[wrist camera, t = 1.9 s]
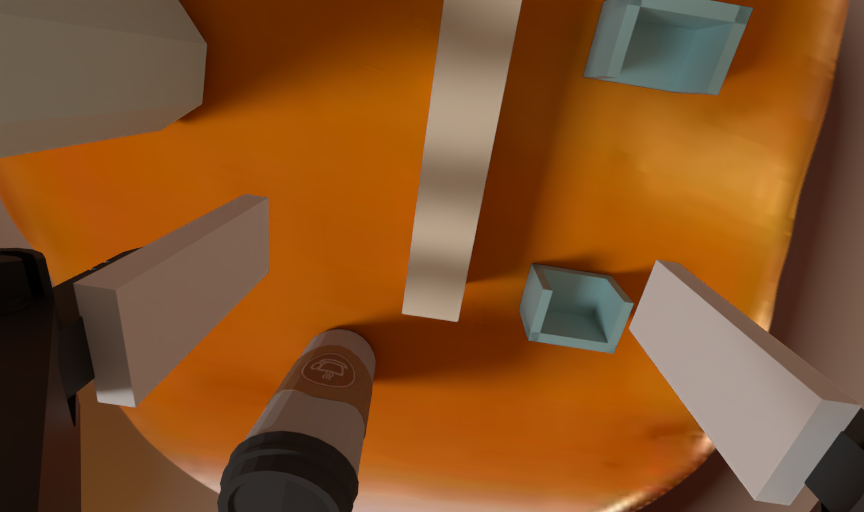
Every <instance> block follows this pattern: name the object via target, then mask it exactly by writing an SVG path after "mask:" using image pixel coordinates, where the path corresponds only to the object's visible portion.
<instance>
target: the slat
mask: <svg viewBox="0 0 864 512" xmlns="http://www.w3.org/2000/svg"><path fill="white" fill-rule="evenodd" d="M521 3H522V0H444V4H443V11H442V19H441V26H440V34H439V41H438V49H437V56H436V63H435V71H434V78H433V86H432V93H431V101H430V108H429V116H428V123H427V130H426V138H425V145H424V153H423V160H422V168H421V175H420V183H419V190H418V198H417V205H416V212H415V220H414V227H413V235H412V242H411V250H410V257H409V265H408V272H407V279H406V287H405V294H404V302H403V309H402V314H407V315H414V316H421V317H427V318H434V319H441V320H448V321H454V322H458V319H459V314H460V309H461V304H462V299H463V294H464V289H465V284H466V278H467V273H468V268H469V263H470V258H471V253H472V248H473V243H474V238H475V233H476V228H477V223H478V218H479V213H480V208H481V203H482V198H483V193H484V188H485V183H486V178H487V173H488V168H489V163H490V158H491V153H492V148H493V143H494V138H495V133H496V128H497V123H498V118H499V113H500V108H501V103H502V98H503V93H504V88H505V83H506V78H507V73H508V68H509V63H510V58H511V53H512V48H513V43H514V38H515V33H516V28H517V23H518V18H519V13H520V8H521Z"/></svg>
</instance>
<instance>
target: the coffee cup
mask: <svg viewBox="0 0 864 512" xmlns="http://www.w3.org/2000/svg"><path fill="white" fill-rule="evenodd" d="M375 364H376V360H375V355H374V352H373V351H372V349H371V347H370V345H369V343H368V342H367V341H366V340H365V339H364V338H363V337H361V336H360V335H358V334H357V333H355V332H352V331H349V330H343V329H334V330H329V331H326V332H324V333H321V334H319V335H318V336H316V337H315V338H313V339H312V341H311V342H310V343H309V345H308V346H307V347H306V349H305V350H304V352H303V353H302V355H301V356H300V358H299V359H298V360H297V361H296V363H295V364H294V365H293V366H292V368H291V369H290V371H289V372H288V374H287V375H286V377H285V378H284V380H283V381H282V383H281V384H280V386H279V387H278V389H277V390H276V392H275V393H274V395H273V396H272V397H271V399H270V400H269V402H268V403H267V406H266V409H265V410H264V412H263V413H262V415H261V416H260V418H259V419H258V421H257V422H256V424H255V425H254V427H253V428H252V430H251V431H250V433H249V434H248V436H247V437H246V439H245V440H244V441H243V442H242V443H240V444H239V445H238V446H237V447H236V449H235V450H234V451H233V452H232V454H231V456H230V460H229V463H228V465H227V466H226V468H225V469H224V472H223V475H222V478H221V482H220V486H221V491H220V494H219V498H218V502H217V503H218V511H219V512H352V509H353V503H354V501H355V499H356V497H357V495H358V485H359V482H358V478H357V477H358V470H359V464H360V458H361V452H362V446H363V440H364V438H365V434H366V428H367V421H368V415H369V409H370V402H371V396H372V386H373V378H374V372H375Z"/></svg>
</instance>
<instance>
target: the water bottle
mask: <svg viewBox="0 0 864 512" xmlns="http://www.w3.org/2000/svg"><path fill="white" fill-rule="evenodd" d="M206 52H207V43H206V42H205V40H204V39H203V37H202V36H201V34H200V33H199V31H198V30H197V28H196V26H195V25H194V23H193V22H192V20H191V19H190V17H189V16H188V14H187V12H186V11H185V9H184V8H183V6H182V5H181V3H180V2H179V0H0V158H3V157H8V156H14V155H20V154H26V153H32V152H38V151H43V150H49V149H55V148H61V147H67V146H73V145H78V144H84V143H90V142H96V141H102V140H108V139H113V138H119V137H125V136H131V135H137V134H143V133H148V132H154V131H160V130H162V129H164V128H165V127H167V126H169V125H170V124H172V123H173V122H175V121H176V120H178V119H180V118H181V117H183V116H184V115H186V114H187V113H189V112H191V111H192V110H194V109H195V108H197V107H198V106H200V105H201V104H202V101H203V89H204V77H205V64H206Z"/></svg>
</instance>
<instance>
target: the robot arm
mask: <svg viewBox="0 0 864 512" xmlns="http://www.w3.org/2000/svg"><path fill="white" fill-rule="evenodd" d="M268 272H269V230H268V197H261V196H255V195H249V194H244V195H242V196H240V197H238V198H237V199H235V200H233V201H231V202H229V203H227V204H225V205H223V206H221V207H219V208H217V209H215V210H213V211H212V212H210V213H208V214H206V215H204V216H202V217H200V218H198V219H196V220H194V221H192V222H190V223H188V224H186V225H185V226H183V227H181V228H179V229H177V230H175V231H173V232H171V233H169V234H167V235H165V236H163V237H161V238H160V239H158V240H156V241H154V242H152V243H150V244H148V245H146V246H144V247H140V248H137V249H133V250H129V251H126V252H123V253H121V254H119V255H117V256H115V257H113V258H111V259H109V260H107V261H106V263H101V264H99V265H97V266H95V267H93V268H92V270H87V271H85V272H83V273H81V274H79V275H77V276H75V277H73V278H71V279H69V280H67V281H65V282H63V283H61V284H59V285H57V286H55V287H53V288H52V285H51V281H50V276H49V272H48V268H47V264H46V259H45V257H44V255H43V254H42V253H41V252H38V251H35V250H32V249H22V248H0V512H81V449H80V404H79V399H78V395H77V392H78V391H79V390H80V389H81V388H83V387H84V386H85V385H86V384H88V382H90V381H91V380H92V379H93V380H94V384H95V389H96V394H97V398H98V402H103V403H110V404H116V405H123V406H129V407H136V406H137V405H138V404H139V403H140V402H141V401H142V400H143V399H144V398H145V397H146V396H147V395H148V394H149V393H150V392H151V391H152V390H153V389H154V388H155V387H156V386H157V385H158V384H159V383H160V382H161V381H162V380H163V379H164V378H165V377H166V376H167V375H168V374H169V373H170V372H171V371H172V370H173V369H174V368H175V367H176V366H177V365H178V364H179V363H180V362H181V361H182V360H183V359H184V358H185V357H186V356H187V355H188V354H189V353H190V352H191V351H192V350H193V349H194V347H195V346H196V345H197V344H198V343H199V342H200V341H201V340H202V339H203V338H204V337H205V336H206V335H207V334H208V333H209V332H210V331H211V330H212V329H213V328H214V327H215V326H216V325H217V324H218V323H219V322H220V321H221V320H222V319H223V318H224V317H225V316H226V315H227V314H228V313H229V312H230V311H231V310H232V309H233V308H234V307H235V306H236V305H237V304H238V303H239V302H240V301H241V300H242V299H243V298H244V297H245V296H246V295H247V294H248V293H249V292H250V291H251V290H252V289H253V288H254V287H255V286H256V285H257V284H258V283H259V282H260V281H261V280H262V278H263V277H264V276H265V275H266V274H267V273H268ZM629 330H630V331H631V332H632V334H633V335H634V336H635V338H636V339H637V341H638V342H639V343H640V345H641V346H642V347H643V349H644V350H645V351H646V353H647V354H648V356H649V357H650V358H651V360H652V361H653V362H654V364H655V365H656V366H657V368H658V369H659V371H660V372H661V373H662V375H663V376H664V377H665V379H666V380H667V381H668V383H669V384H670V386H671V387H672V388H673V390H674V391H675V392H676V394H677V395H678V396H679V398H680V399H681V401H682V402H683V403H684V405H685V406H686V407H687V409H688V410H689V411H690V413H691V414H692V416H693V417H694V418H695V420H696V421H697V422H698V424H699V425H700V426H701V428H702V429H703V430H704V432H705V433H706V435H707V436H708V437H709V439H710V440H711V441H712V443H713V444H714V445H715V447H716V448H717V449H718V451H719V452H720V454H721V455H722V456H723V458H724V459H725V460H726V462H727V463H728V465H729V466H730V467H731V468H732V470H733V471H734V473H735V474H736V475H737V477H738V478H739V479H740V481H741V482H742V484H743V485H744V486H745V488H746V489H747V490H748V492H749V493H750V495H751V496H752V497H753V499H754V500H758V501H764V502H770V503H777V504H784V505H790V504H791V503H792V502H793V500H794V499H795V497H796V496H797V495H798V493H799V492H800V491H801V489H802V488H803V486H804V485H805V484H806V486H807V487H808V488H809V489H810V490H811V491H812V492H813V493H814V494H815V496H816V497H817V498H818V499H819V501H818V502H817V503H816V505H815V506H814V507H813V508H812V510H811V511H810V512H864V410H863V409H862V408H861V407H862V405H861V404H859V403H858V402H857V401H856V400H854V399H853V398H852V397H850V396H849V395H848V394H846V393H845V392H844V391H843V390H841V389H840V388H839V387H837V386H836V385H835V384H833V383H832V382H831V381H830V380H828V379H827V378H826V377H824V376H823V375H822V374H821V373H819V372H818V371H817V370H816V369H814V368H813V367H812V366H810V365H809V364H808V363H806V362H805V361H804V360H803V359H801V358H800V357H799V356H797V355H796V354H795V353H794V352H792V351H791V350H790V349H788V348H787V347H786V346H785V345H783V344H782V343H781V342H779V341H778V340H777V339H776V338H774V337H773V336H772V335H770V334H769V333H768V332H767V331H765V330H764V329H763V328H761V327H760V326H759V325H758V324H756V323H755V322H754V321H752V320H751V319H750V318H749V317H747V316H746V315H745V314H743V313H742V312H741V311H740V310H738V309H737V308H736V307H734V306H733V305H732V304H730V303H729V302H728V301H727V300H725V299H724V298H723V297H721V296H720V295H719V294H718V293H716V292H715V291H714V290H712V289H711V288H710V287H709V286H707V285H706V284H705V283H703V282H702V281H701V280H700V279H698V278H697V277H696V276H694V275H693V274H692V273H691V272H689V271H688V270H687V269H685V268H684V267H683V266H682V265H680V264H679V263H674V262H667V261H661V260H656V262H655V265H654V267H653V270H652V272H651V275H650V277H649V280H648V282H647V285H646V287H645V290H644V292H643V295H642V297H641V300H640V302H639V305H638V307H637V310H636V312H635V315H634V317H633V320H632V322H631V325H630V327H629Z"/></svg>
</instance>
